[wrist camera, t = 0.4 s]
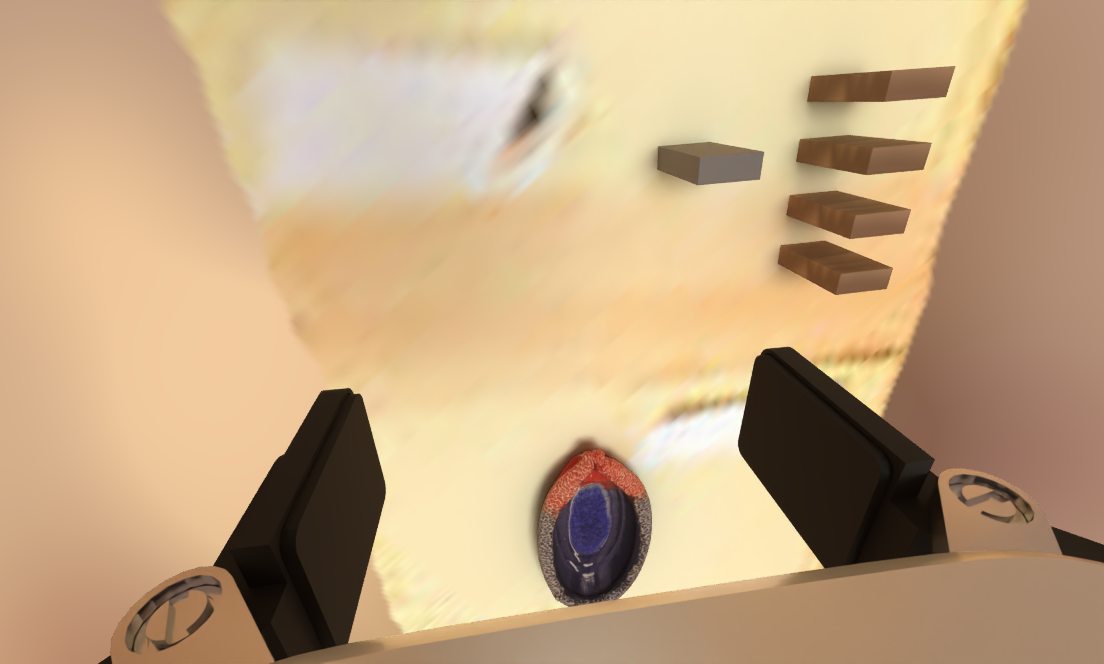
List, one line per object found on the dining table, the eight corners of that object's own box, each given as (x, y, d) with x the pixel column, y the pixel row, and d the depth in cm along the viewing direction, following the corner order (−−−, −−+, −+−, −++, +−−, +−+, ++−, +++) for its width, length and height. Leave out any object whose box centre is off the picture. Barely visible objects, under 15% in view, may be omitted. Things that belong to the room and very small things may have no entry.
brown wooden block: (781, 245, 47) (841, 274, 39) (824, 240, 48) (892, 268, 40) (777, 263, 48) (835, 294, 40) (820, 258, 49) (886, 288, 41)
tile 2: (811, 76, 40) (892, 70, 32) (863, 73, 41) (955, 66, 33) (807, 101, 41) (884, 101, 33) (857, 97, 41) (945, 96, 34)
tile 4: (790, 195, 45) (855, 215, 37) (836, 190, 45) (910, 209, 37) (786, 215, 46) (849, 238, 38) (831, 210, 46) (903, 233, 38)
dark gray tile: (658, 146, 41) (700, 157, 33) (710, 142, 41) (763, 151, 34) (657, 169, 42) (697, 185, 34) (708, 164, 42) (759, 179, 34)
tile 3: (800, 139, 42) (873, 148, 35) (849, 135, 43) (931, 142, 35) (796, 161, 43) (866, 175, 36) (844, 157, 44) (923, 169, 36)
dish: (535, 591, 69) (539, 624, 65) (534, 436, 55) (538, 465, 50) (632, 579, 71) (642, 610, 67) (655, 426, 57) (669, 453, 52)
